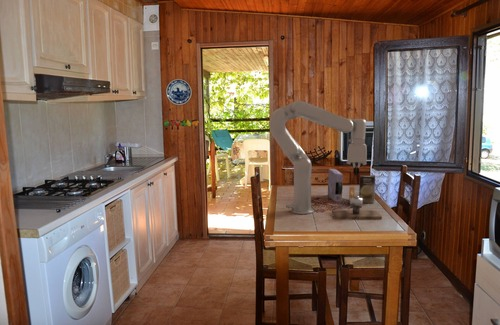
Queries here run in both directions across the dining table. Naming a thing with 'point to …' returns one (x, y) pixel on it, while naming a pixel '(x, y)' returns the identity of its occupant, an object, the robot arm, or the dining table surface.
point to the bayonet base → (356, 214)
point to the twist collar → (354, 198)
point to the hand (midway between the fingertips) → (356, 174)
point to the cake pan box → (335, 185)
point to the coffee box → (367, 188)
